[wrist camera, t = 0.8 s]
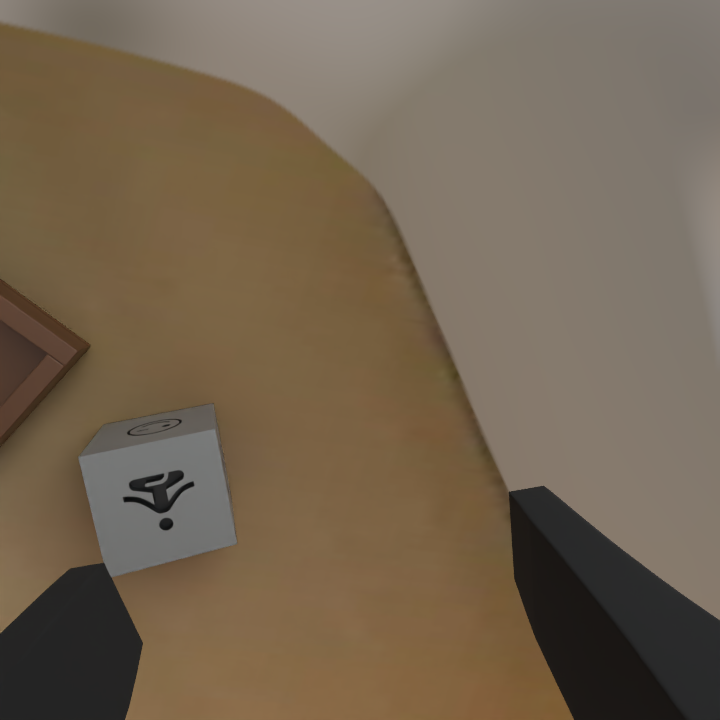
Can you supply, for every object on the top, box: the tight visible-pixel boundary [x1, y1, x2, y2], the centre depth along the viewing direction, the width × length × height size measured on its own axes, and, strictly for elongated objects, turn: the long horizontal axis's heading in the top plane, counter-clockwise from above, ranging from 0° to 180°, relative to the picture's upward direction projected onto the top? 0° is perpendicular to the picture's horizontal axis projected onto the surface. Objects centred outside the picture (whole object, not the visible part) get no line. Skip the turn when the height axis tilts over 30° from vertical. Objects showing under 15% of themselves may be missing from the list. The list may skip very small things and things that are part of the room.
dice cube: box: [78, 403, 237, 577], centre depth 23 cm, size 5×5×5 cm
